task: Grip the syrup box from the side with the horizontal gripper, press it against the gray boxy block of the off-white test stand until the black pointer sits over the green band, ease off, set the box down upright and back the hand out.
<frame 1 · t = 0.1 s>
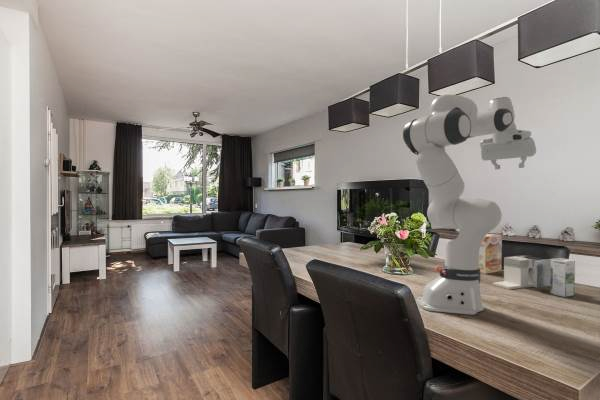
hand: (509, 168, 140), 52 cm above the table, tool tilted 20°, fingers open, 8 cm apart
test stand: (546, 290, 139), on the table
gray boxy block: (534, 270, 144), point 8 cm above the table, slide at 0.0 cm
coffeecake box: (487, 271, 176), on the table
syrup box: (562, 295, 133), on the table
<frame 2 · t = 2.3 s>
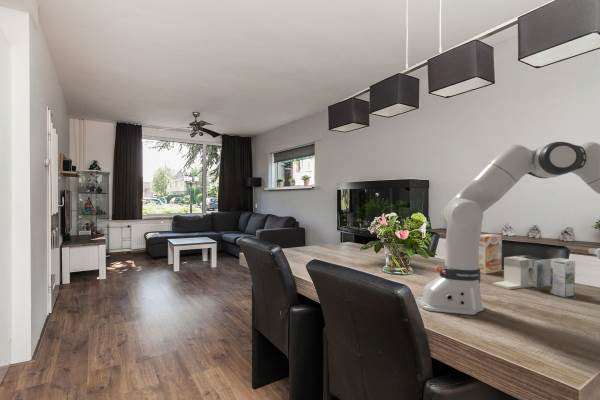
hand: (598, 249, 122), 20 cm above the table, tool horizontal, fingers open, 8 cm apart
nothing on the table moved.
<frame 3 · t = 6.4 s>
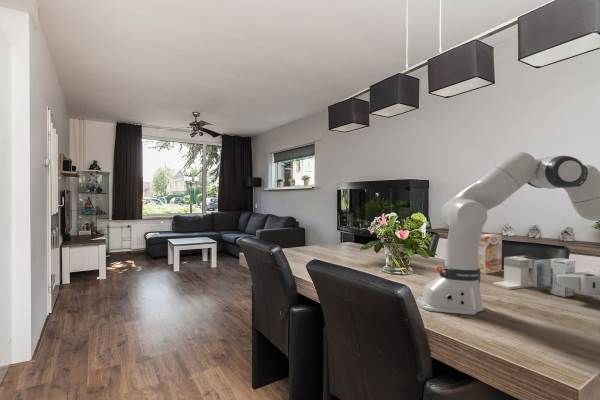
hand: (560, 274, 134), 8 cm above the table, tool horizontal, fingers closed on syrup box, 6 cm apart
syrup box: (562, 295, 133), on the table, touching gripper
everything else where it was.
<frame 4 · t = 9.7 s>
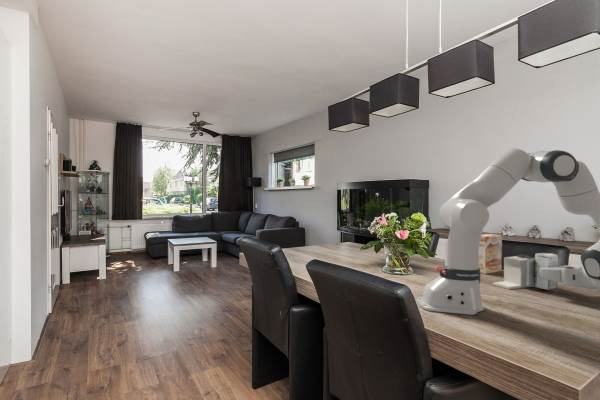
hand: (543, 268, 140), 9 cm above the table, tool horizontal, fingers closed on syrup box, 6 cm apart
gray boxy block: (527, 269, 147), point 8 cm above the table, slide at 3.3 cm, touching syrup box
syrup box: (546, 288, 139), point 1 cm above the table, touching gripper, gray boxy block
everything else where it was.
when the fingers open (9 cm above the table, at t = 11.9 s): syrup box stays where it is, on the table.
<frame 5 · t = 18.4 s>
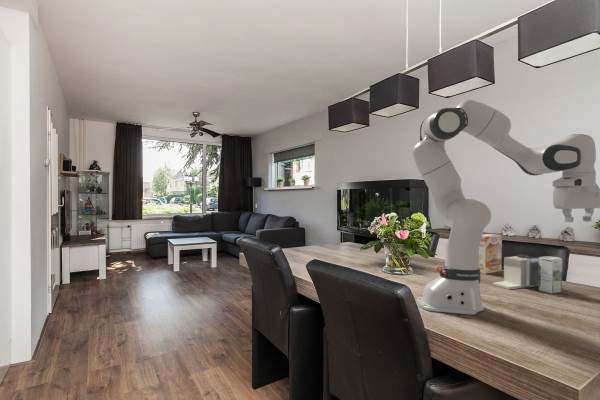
hand: (578, 221, 114), 31 cm above the table, tool pointing down, fingers open, 8 cm apart
gray boxy block: (527, 269, 147), point 8 cm above the table, slide at 3.3 cm
syrup box: (550, 292, 138), on the table
everything else where it was.
at the end: gray boxy block slide at 3.3 cm; syrup box tilted 0°; the gripper is holding nothing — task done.
